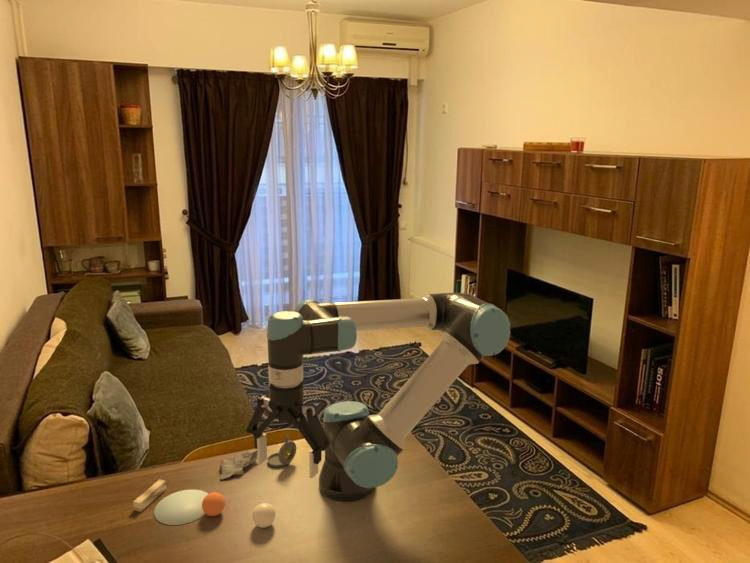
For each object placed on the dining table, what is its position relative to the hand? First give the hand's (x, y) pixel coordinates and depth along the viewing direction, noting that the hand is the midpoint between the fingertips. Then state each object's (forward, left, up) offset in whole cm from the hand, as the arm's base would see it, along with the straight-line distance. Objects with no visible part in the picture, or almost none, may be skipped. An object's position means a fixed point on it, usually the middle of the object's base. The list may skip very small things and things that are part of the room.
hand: (287, 468), depth 127 cm
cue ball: (+5, -5, -15) cm, 16 cm away
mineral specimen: (+7, -32, -18) cm, 38 cm away
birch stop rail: (+30, -27, -17) cm, 44 cm away
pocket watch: (-5, -30, -18) cm, 36 cm away
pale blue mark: (+23, -20, -17) cm, 35 cm away
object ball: (+16, -14, -15) cm, 26 cm away
